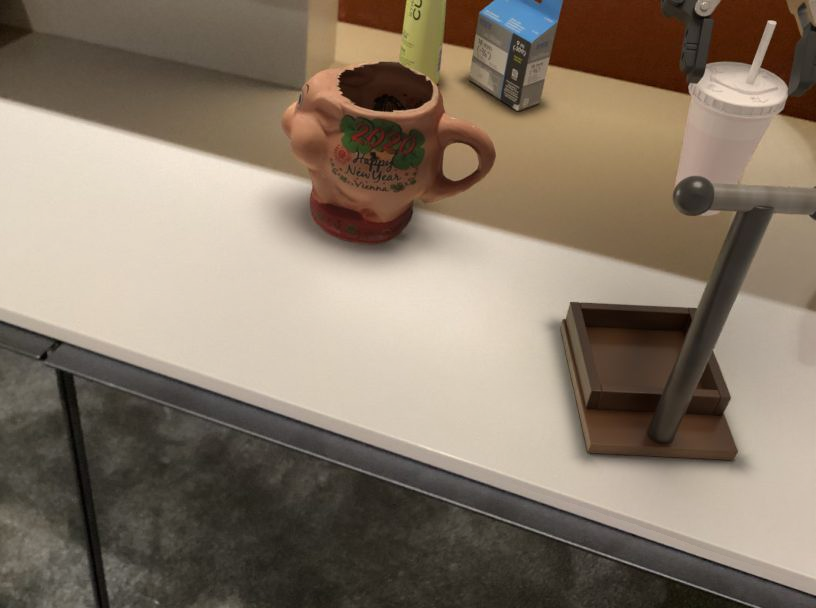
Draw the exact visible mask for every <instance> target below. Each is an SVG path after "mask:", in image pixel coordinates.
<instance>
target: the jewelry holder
mask: <svg viewBox="0 0 816 608" xmlns="http://www.w3.org/2000/svg"><path fill="white" fill-rule="evenodd" d="M674 187H675V186H674ZM672 202H673V205H674V207H675V209H676V210H677V211H678V212H679V213H681V214H682V215H684V216H687V217H698V216H701V214H703V213H705V212H707V211H708V210H714V211H721V212H735V214H734V217H733V219H732V222H731V224H730V226H729V229H728V231H727V234H726V236H725V239H724V241H723V244H722V246H721V249H720V251H719V253H718V256H717V258H716V261H715V263H714V266H713V268H712V270H711V273H710V276H709V278H708V280H707V283H706V284H705V288H704V290H703V293H702V295H701V297H700V300H699V303H698V305H697V307H685V306H665V305H644V304H643V305H642V304H627V303H626V304H623V303H606V302H605V303H604V302H603V303H602V302H585V301H584V302H582V301H581V302H579V301H570V302H569V305H568V309H567V311H566V316H565V318H563V319H562V321H561V323H560V326H559V328H560V332H561V337H562V342H563V346H564V350H565V354H566V359H567V360H566V361H567V365H568V369H569V373H570V378H571V383H572V387H573V391H574V396H575V400H576V404H577V405H576V406H577V409H578V414H579V418H580V422H581V427H582V433H583V436H584V441H585V445H586V450H587V453H588V454H604V455H605V454H606V455H623V456H624V455H625V456H644V457H645V456H647V457H665V458H681V459H683V458H684V459H685V458H686V459H703V460H705V459H706V460H721V461H722V460H724V461H734V460H735V458H736V457H737V455H738V453H739V449H738V448H737V445H736V442H735V439H734V437H733V435H732V431H731V429H730V426H729V422H728V420H727V418H726V415H725V412H726V410H727V407H728V405H729V404H730V402H731V400H732V396H731V393H730V391H729V388H728V385H727V383H726V380H725V378H724V375H723V372H722V370H721V367H720V364H719V362H718V359H717V356H716V354H715V351H714V349H715V347H716V345H717V343H718V341H719V338H720V336H721V334H722V331H723V329H724V326H725V325H726V322H727V320H728V318H729V316H730V313H731V311H732V309H733V306H734V304H735V302H736V299H737V297H738V295H739V293H740V290H741V288H742V286H743V284H744V281H745V279H746V277H747V275H748V273H749V270H750V268H751V265H752V263H753V261H754V259H755V256H756V254H757V252H758V250H759V247H760V245H761V243H762V240H763V238H764V236H765V234H766V231H767V230H768V228H769V225H770V222H771V221H772V218H773V215H774V214H779V215H781V214H782V215H797V216H798V215H800V216H809V217H810V218H811V219H812V220H814V221H816V185H815V186H813V187H797V186H779V185H778V186H777V185H756V184H738V183H737V184H717V183H711V182H710V181H709V180H708V179H706V178H704V177H702V176H690V177H687V178H685V179H683V180H682V181H680V182H679V183H678V184H677V186H676V187H675V189H674V188H673V193H672Z"/></svg>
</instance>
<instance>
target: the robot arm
mask: <svg viewBox="0 0 816 608" xmlns="http://www.w3.org/2000/svg"><path fill="white" fill-rule="evenodd" d="M721 1H722V0H660V13H661V15H663V17H665V18H674V19H677V20H679V21H680V22H681V23H683V25H684V28H685V29H684V30H685V31H684V37H683V42H682V47H681V53H680V59H679V64H678V66H679V71H680V74H685V75H686V80H685V81H686V84H690V83H694V84H698V82H699V81H700V80H701V79H702V77H703V76H704V73H705V69H706V64H708V57H709V54H710V53H709V52H710V48H711V47H710V46H711V41H712V35H713V30H714V25H715V19H713V18H712V14H713V12H714V11H715V10H716V9H717V7H718V6H719V5H720V3H721ZM785 1H786V4H787V7H788V11H789V13H790V14H791V15H793V16H794V19H795V22H796V24H797V28H798V32H799V34H800V39H799V40H798V41H796V43H795V48H794V54H793V59H792V65H791V71H790V76H789V81H788V86H787V87H788V97H795V98H796V97H797V98H800V97H802V96H803V95H804V94H805V93H806V92H808V91H809V90H810V89H811V88H813V87H814V86H815V85H816V0H785Z"/></svg>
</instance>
